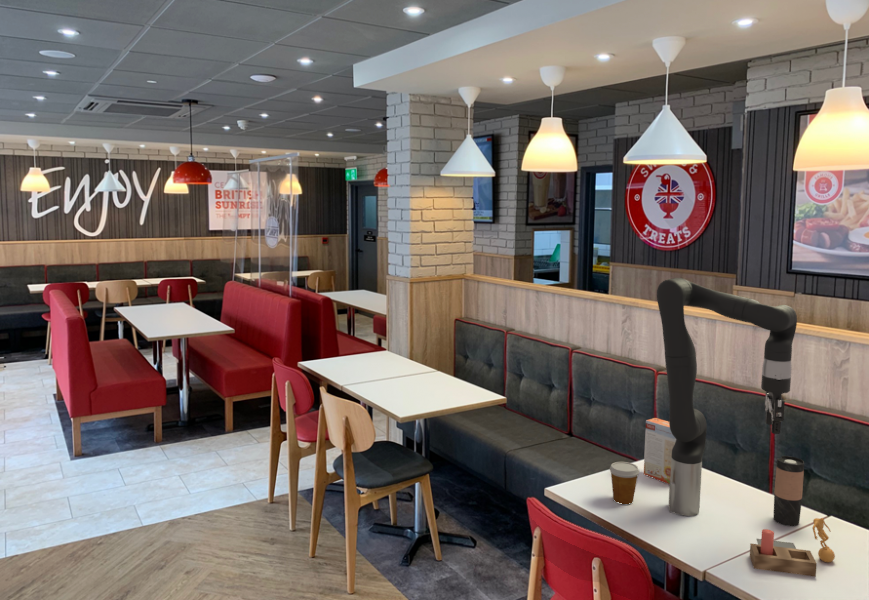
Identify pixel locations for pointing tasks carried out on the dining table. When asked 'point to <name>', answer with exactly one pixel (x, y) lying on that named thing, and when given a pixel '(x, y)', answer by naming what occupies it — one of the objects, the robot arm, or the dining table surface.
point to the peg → (767, 542)
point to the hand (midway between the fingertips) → (772, 428)
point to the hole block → (784, 560)
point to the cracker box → (658, 449)
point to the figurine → (823, 541)
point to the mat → (780, 544)
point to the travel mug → (788, 490)
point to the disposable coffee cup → (623, 481)
